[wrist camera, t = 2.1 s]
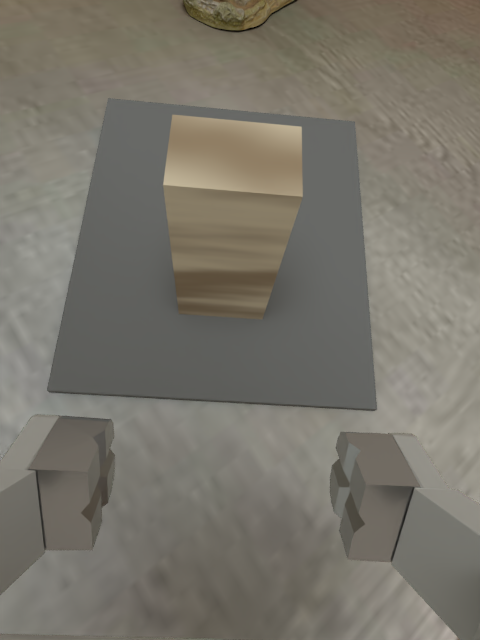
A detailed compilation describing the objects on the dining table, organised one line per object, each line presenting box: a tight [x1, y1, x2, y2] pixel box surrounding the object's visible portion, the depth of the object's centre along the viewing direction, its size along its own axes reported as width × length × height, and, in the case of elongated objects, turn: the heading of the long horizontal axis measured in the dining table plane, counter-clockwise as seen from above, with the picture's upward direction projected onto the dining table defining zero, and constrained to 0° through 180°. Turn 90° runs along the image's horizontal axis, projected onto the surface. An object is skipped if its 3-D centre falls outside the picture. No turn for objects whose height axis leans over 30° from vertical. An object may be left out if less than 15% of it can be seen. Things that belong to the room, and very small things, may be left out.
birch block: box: [163, 115, 303, 319], centre depth 26 cm, size 4×6×14 cm, turn 88°
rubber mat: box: [47, 98, 377, 411], centre depth 35 cm, size 26×22×1 cm
